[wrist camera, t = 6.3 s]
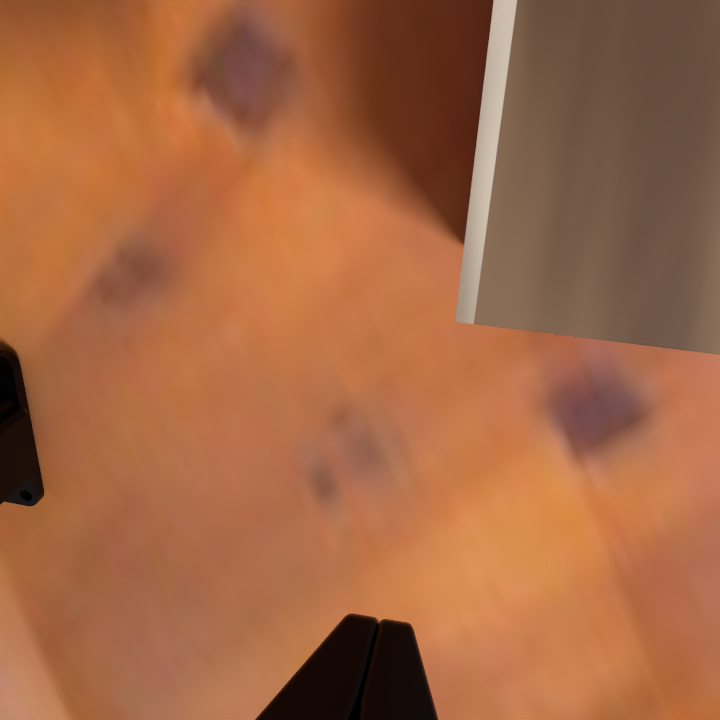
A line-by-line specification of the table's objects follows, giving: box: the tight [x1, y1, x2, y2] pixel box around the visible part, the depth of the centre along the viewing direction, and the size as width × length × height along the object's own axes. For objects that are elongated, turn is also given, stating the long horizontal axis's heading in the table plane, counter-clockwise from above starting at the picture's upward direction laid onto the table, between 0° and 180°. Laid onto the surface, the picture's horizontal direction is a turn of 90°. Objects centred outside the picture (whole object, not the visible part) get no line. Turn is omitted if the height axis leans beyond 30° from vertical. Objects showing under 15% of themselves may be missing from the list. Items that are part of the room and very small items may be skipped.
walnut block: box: [455, 0, 720, 355], centre depth 15 cm, size 5×7×9 cm
